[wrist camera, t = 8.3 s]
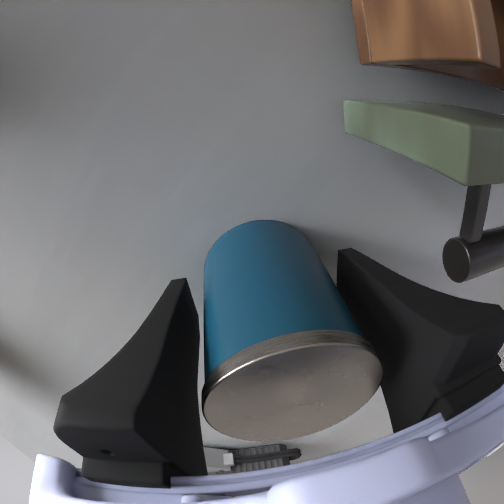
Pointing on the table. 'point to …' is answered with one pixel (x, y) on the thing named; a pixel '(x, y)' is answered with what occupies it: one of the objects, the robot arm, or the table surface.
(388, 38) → the drawer
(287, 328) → the tin
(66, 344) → the table surface
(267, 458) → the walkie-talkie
